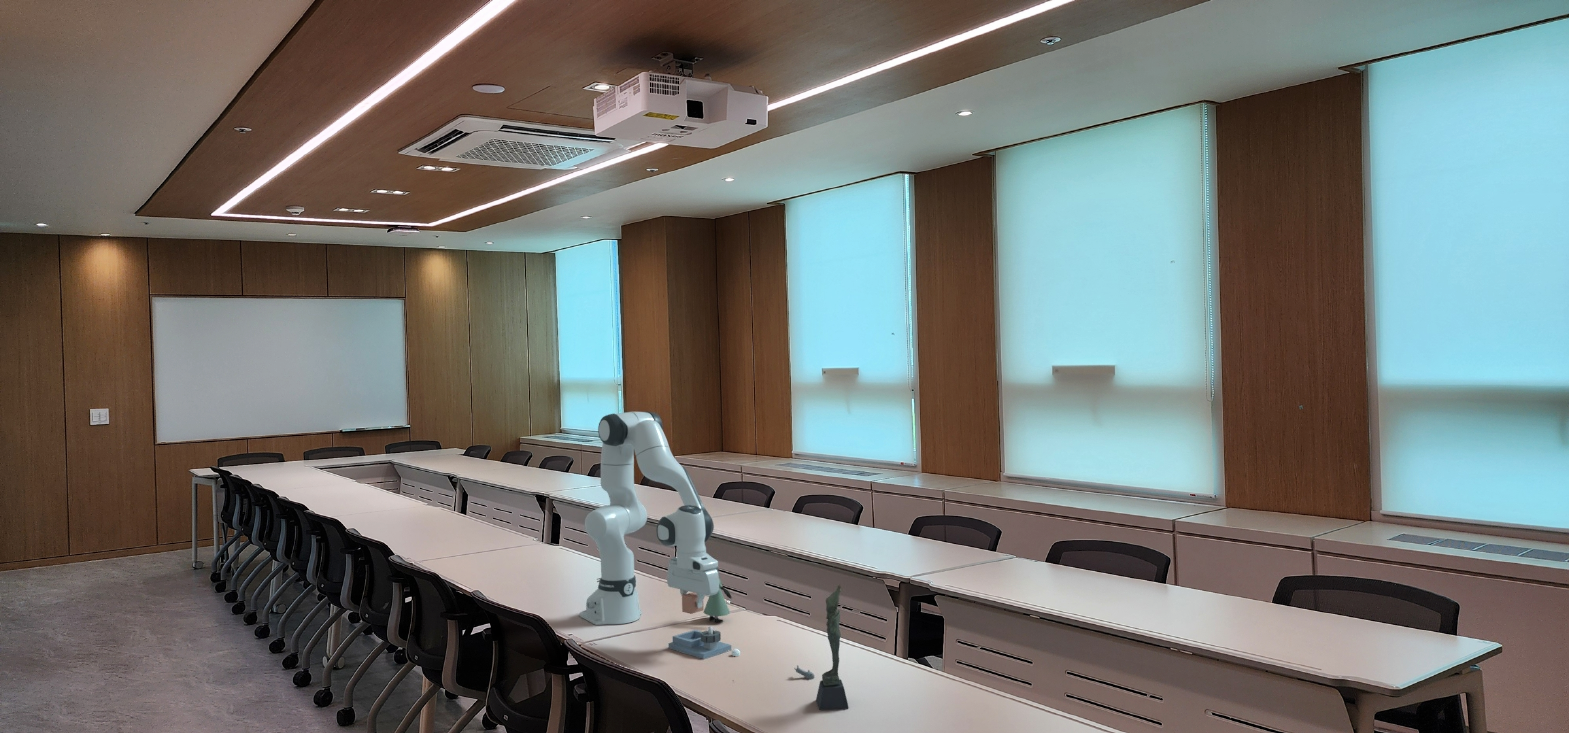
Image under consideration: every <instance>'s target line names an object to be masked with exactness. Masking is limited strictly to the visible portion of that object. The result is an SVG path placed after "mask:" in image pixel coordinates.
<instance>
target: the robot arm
mask: <svg viewBox="0 0 1569 733" xmlns="http://www.w3.org/2000/svg"><path fill="white" fill-rule="evenodd" d="M663 430H664V425H663V421H662V419H661V417H660V415H659V414H657V413H656V412H652V411H628V412H620V413H610V414H609V413H608V414H605V415H603V417H601V419H600V420H599V422H598V427H597V432H598V438H599V439H600V441H601V442H602V446H601V456H600V487H601V489H602V490H603V491H605V492H606V493H607V495H608V499H609V505H608V504H607V505H603V506H600V507H597V508H595V509H593V510H592V511H590V512H589V513H588V514H587V515H586V517H585V519H584V529H585V532H586V534H587V535H588V537H590V538H591V539H592V540H593V541H594V542H595V544H596V546H597V549H598V552H599V558H600V573H601V574H600V575H601V576H600V578H596V580H597V581H596V582H597V583H598V585H597V586H598V587H597V589H596V590H595V591H594V592H593V593H591V595H590V596H588V597H587V599H586V604H585V605H586V606H585V610H582V611H580V612H579V613H578V617H580V618H582V619H584V620H585V621H588V622H589V623H590V624H593V625H596V626H601V625H623V624H629V623H631V622H636V621H638V620H639V619H640V618H641V615H642V614H643V612H642V611H643V610H642V609H640V602H639V594H638V590H637V589H636V586H637V579H636V578H637V577H636V575H635V556H634V552H633V551H632V550H631V549H630V548H629V547H628V546H627V544H626V542H625V541H626V540H625V538H624V537H625V536H626V535H629V534H633V533H635V532H637V531H638V530H640V529H641V528H644V526H645V525H646V524H647V520H648V511H647V509H646V507H645V505H644V504H643V503H641V501H640V499H639V498H638V495H637V492H636V487H635V468H634V466H635V458H636V462H637V465H638V468H639V470H640V472H641V474H642V475H643V476H645V478H646V479H648V480H651V481H653V482H657V483H661V484H665V485H667V486H670V487H672V488H673V489H674V490H676V491H677V493H678V494H679V497H680V499H681V501H682V503H683V505H682V506H679V507H678V508H677V510H676V511H674V512H673V513H670V514H667V515H664V516H662V517H661V518H660V519H659V521H658V522H657V525H656V537H657V539H658V541H659V542H660V543H661V544H662V545H664V546H666V547H675V546H676V548H677V549H676V556H672V557H671V558H670V559H669V563H668V567H667V575H666V576H667V577H666V583H667V586H668V587H669V588H672V589H677V590H679V592H680V595H681V597H682V595H685V594H688V593H689V592H690V593H692V592H694V593H697V597H698V599H697V601H695V607H697V608H700V607H702V606H703V607H704V600H705V597H706V596H708V597H709V596H711V595H715V594H717V593H718V591H719V579H720V577H719V574H718V571H717V570H716V569H715V568H719V561H718V560H717V559H715V558H713V557H712V556H711V555H710V554H709V553H707V547H706V542H708V540H709V539H710V538H711V536H712V535H713V532H714V528H715V527H714V526H715V525H714V521H713V518H712V517H711V515H710V514H709V512H708V510H707V509H706V507H705V506H704V503H703V502H702V499H701V497H700V495H699V493H698V491H697V489H696V487H695V484H694V482H693V481H692V478H691V476H690V474H689V473H688V470H687V469H686V468H685V466H683V465H681V464H680V463H679V462H678V461H677V460H676V458H675V457H674V455H673V453H672V451H671V448H670V446H669V442H668V440H667V437H666V435H665V433H664V431H663ZM634 455H635V456H634ZM634 457H635V458H634ZM702 601H703V603H702ZM640 614H641V615H640Z"/></svg>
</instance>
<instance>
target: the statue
mask: <svg viewBox="0 0 1569 733" xmlns="http://www.w3.org/2000/svg"><path fill="white" fill-rule="evenodd" d="M841 590H842V586H841V584H839V585H837V588H836V590H835V591H834V592H832V593H831V594H829V596H828V597H826V599H825V604H826V605H825V606H826V609H825V611H826V618H825V619H827V621H826V624H825V625H826V627H827V628H826V634H827V640H828V643H829V646H830V650H831V658H832V668H831V669H830V670H828V671H825V672H824V673H822V675H821V680H820V681H819V686H818V688H817V693H816V697H815V698H816V699H815V701H816V705H817V708H818V710H820V711H830V710H831V711H832V710H833V711H834V710H838V711H839V710H847V709H849V708H850V706H849V703H848V699H847V695H846V691H845V687H844V684H843V681H842V679H840V676H839V672H838V671H839V667H840V666H839V664H840V657H839V656H840V644H841V643H840V640H841V631H840V621H841V620H840V619H841V612H840V610H838V607H839V602H840V593H841V592H842V591H841Z"/></svg>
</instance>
